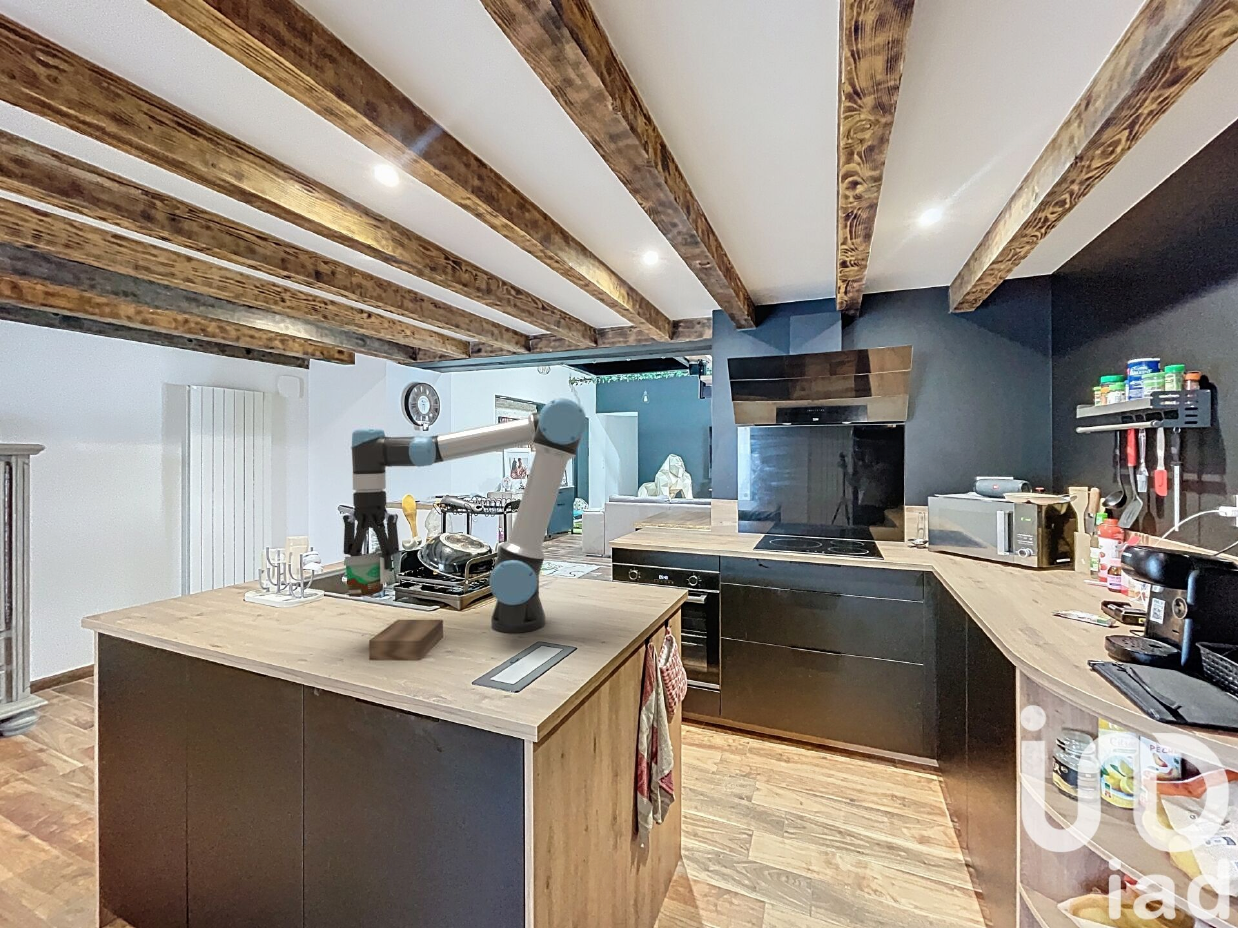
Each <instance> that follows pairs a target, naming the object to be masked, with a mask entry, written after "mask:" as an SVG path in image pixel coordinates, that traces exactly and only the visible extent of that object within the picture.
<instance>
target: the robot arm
mask: <svg viewBox="0 0 1238 928" xmlns="http://www.w3.org/2000/svg"><path fill="white" fill-rule="evenodd" d="M586 418H587V417H586V414H585V412H584V410H583V407H581V405H579V404H578V403H577V402H576V401H573V400H572V399H568V398H556V399H553V400H549V401H548V402H547V403H546V404H544V406H543V407H542V409H541V410H540V411H537V412H531V413H530V414H529V415H528V417H525V418H521V419H519V418H518V419H516V420H515V419H514V420H510V421H509V420H508V421H504V422H499V423H498V422H497V423H494V424H489V425H484V426H479V427H478V426H477V427H473V428H469V429H463V430H459V431H458V430H457V431H452V432H448V433H442V434H438V435H431V436H423V435H421V436H420V435H417V436H394V437H393V436H392V437H391V436H386V435H385V430H383V429H381V428H380V429H378V428H376V429H375V428H370V429H369V428H360V429H355V430H354V431H353V432H352V433H351V448H350V449H351V459H352V460H351V461H352V490H353V491H354V493H353V495H352V498H353V499H352V501H353V502H352V504H353V507H354V511H353V513H350V514H345V515H343V516H342V520H343V525H344V529H343V530H344V531H343V532H344V533H343V534H344V535H343V554H344V555H348V556H349V557H353V556H359V555H361V554H363V552H362V549H363V546H364V542H365V538H366V535H367V532H368V530H369V529H372V531H373V532H374V533H375V537H376V540H377V542H378V545H379V549H381V551H382V554H383V556H381V557H380V582H381V584H383V585H384V584H386V583H389V582H390V569H392V568H393V559H392V557H393V555H395V554H398V553H400V546H399V545H400V544H399V535H398V519H399V515H398V514H397V513H394V514H392V513H389V512H388V510H387V508H386V507H387V492H386V489H387V486H386V485H387V484H386V483H387V481H386V480H387V478H386V475H387V474H386V467H419V468H420V467H426V466H427V467H428V466H429V467H430V466H433V465H434V464H439V463H443V462H448V461H452V460H458V459H462V458H463V459H464V458H469V457H474V456H477V455H483V454H488V453H494V452H498V451H504V450H508V449H514V448H519V447H524V446H530V445H533V448H534V449H535V454H534V457H533V460H532V463H531V467H530V470H529V473H528V477H527V479H526V483H525V486H524V490H523V493H522V497H521V500H520V503H519V505H518V509H517V512H516V515H515V520H514V522H513V525H512V529H511V532H510V535H509V538H508V540H505V542H502V543H501V544H500V545H498V547H497V552H496V556H497V558H496V561H495V565H494V568H492V571H491V573H490V575H489V589H490V591H491V593H492V596H493V597H494V598H495V599H496V602H495V605H494V609H493V612H492V615H491V620H490V621H491V624H490V626H491V628H492V629H493V630H495V631H498V632H502V633H510V634H511V633H514V634H515V633H525V632H532V631H536V630H539V629H541V628H542V627H544V626H545V624H546V614H545V611H544V608H543V604H542V601H541V597H540V573H541V570H542V567H543V563H544V559H545V557H546V556H545V553H544V551H543V550H542V546H543V544H544V540H545V537H546V533H547V530H548V527H549V524H550V520H551V517H552V514H553V510H554V507H555V504H556V500H557V498H558V494H559V491H560V487H561V484H562V481H563V478H564V474H565V472H566V468H567V464H568V462H569V461H570V460H572V459H573V458H576V455H577V453H578V449H579V445H580V442H581V439H582V435H583V434H584V432H585V431H586V427H587V419H586ZM356 522H357V524H356ZM385 522H386V524H385ZM386 530H387V531H386Z"/></svg>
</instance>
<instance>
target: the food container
mask: <svg viewBox="0 0 1238 928" xmlns="http://www.w3.org/2000/svg"><path fill="white" fill-rule="evenodd" d="M374 550H375V551H373V552H370V553H362V554H361V555H359V556H353V557H351V556H345V557H344V560H343V566H344V567H345V573H346V580H347V581H346V583H347V590H348V592H347V593H348V597H351V598H352V597H353V598H354V597H364V596H372V595H375V594H379V593H381V592H382V591H384V584H381V582H380V557H381V556H383V554H382V551H381V548H380V547H378V548H375V549H374Z"/></svg>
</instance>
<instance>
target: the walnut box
mask: <svg viewBox="0 0 1238 928" xmlns="http://www.w3.org/2000/svg"><path fill="white" fill-rule="evenodd" d="M443 637H444V619H396V620H395V621H394V622H392V623H391V624H390V625H388V626H387V627H386V628H384V629H383V630H382V631H380V632H379V633H378V634H377V635H374V637H372V638H370V639H369V640H368V650H369V651H368V655H369V656H368V658H369V659H368V660H369V661H421V660H422V659H423V658H425V657H424V656H426V655H427V654H428V653H429V652H430V651H431V650H432V649H433V648H434V646H436V644H438V643H439V641H441V640H442V639H443Z"/></svg>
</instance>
